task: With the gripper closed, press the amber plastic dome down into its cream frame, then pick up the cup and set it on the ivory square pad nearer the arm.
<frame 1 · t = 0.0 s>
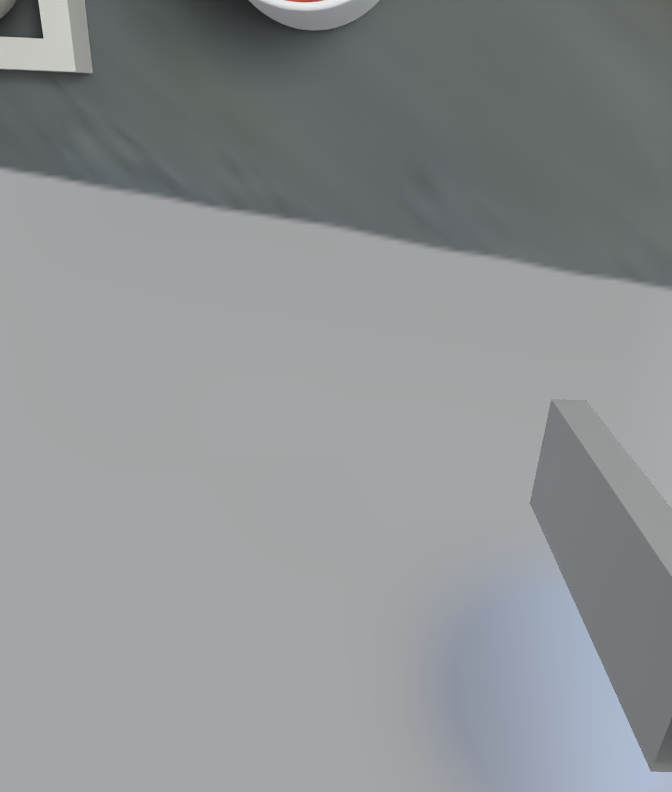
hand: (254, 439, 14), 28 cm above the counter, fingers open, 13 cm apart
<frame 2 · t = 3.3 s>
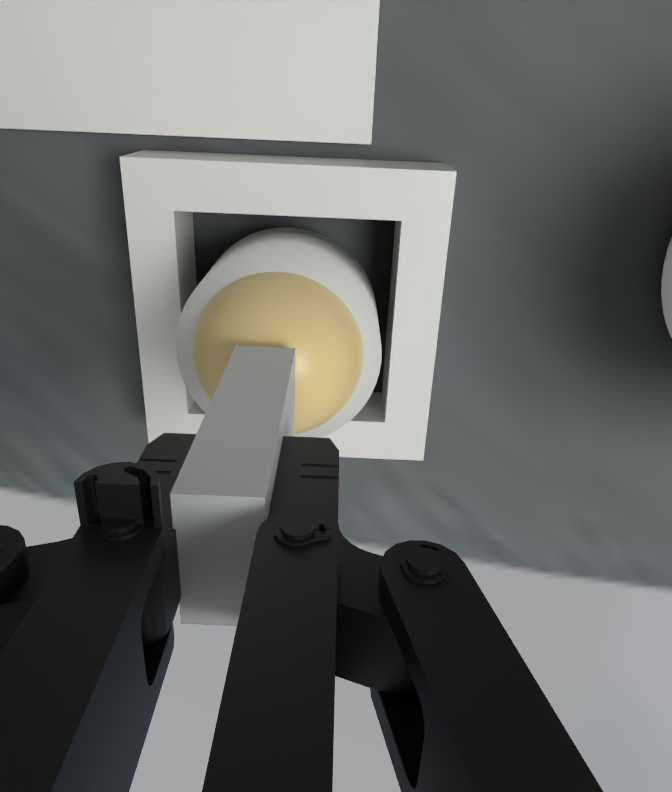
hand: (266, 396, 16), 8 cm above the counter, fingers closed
dome base: (293, 301, 23), on the counter
dome: (281, 346, 19), point 5 cm above the counter, slide at -0.9 cm, touching gripper
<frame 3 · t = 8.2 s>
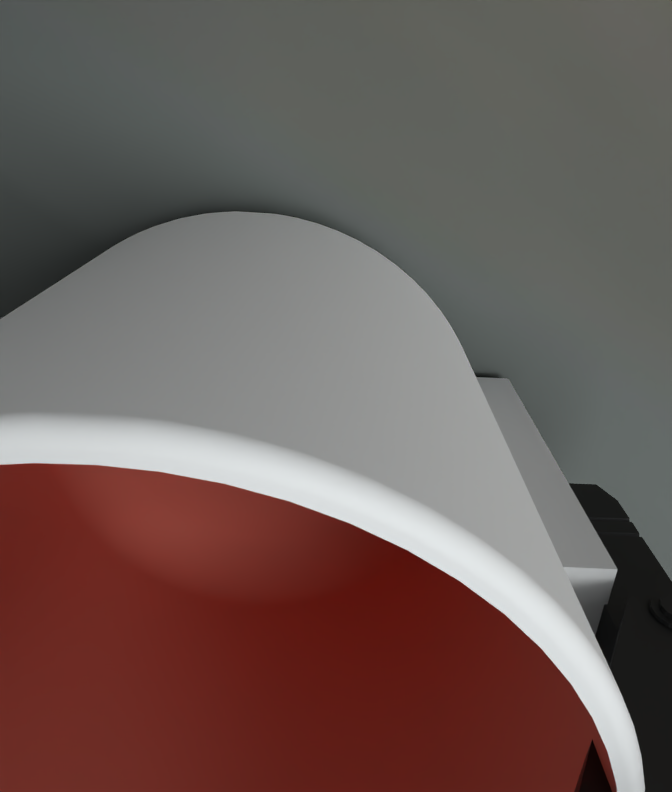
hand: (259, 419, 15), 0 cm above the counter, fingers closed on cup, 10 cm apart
cup: (262, 409, 16), on the counter, touching gripper
when the fingers open (2 cm above the counter, at t = 13.5 s): cup drops 1 cm, resting on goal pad.
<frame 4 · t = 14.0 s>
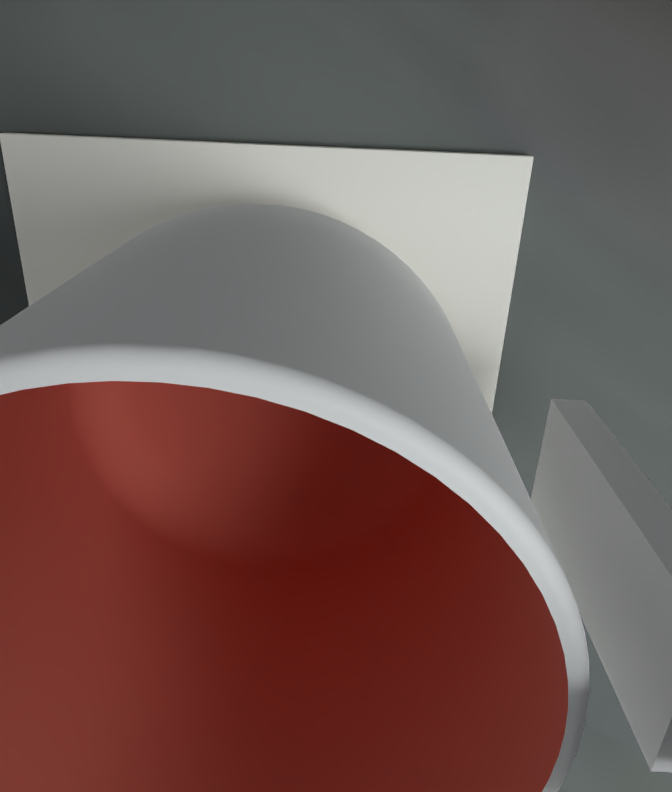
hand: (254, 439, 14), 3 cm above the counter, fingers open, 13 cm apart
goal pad: (269, 381, 17), on the counter
cup: (269, 386, 17), resting on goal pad
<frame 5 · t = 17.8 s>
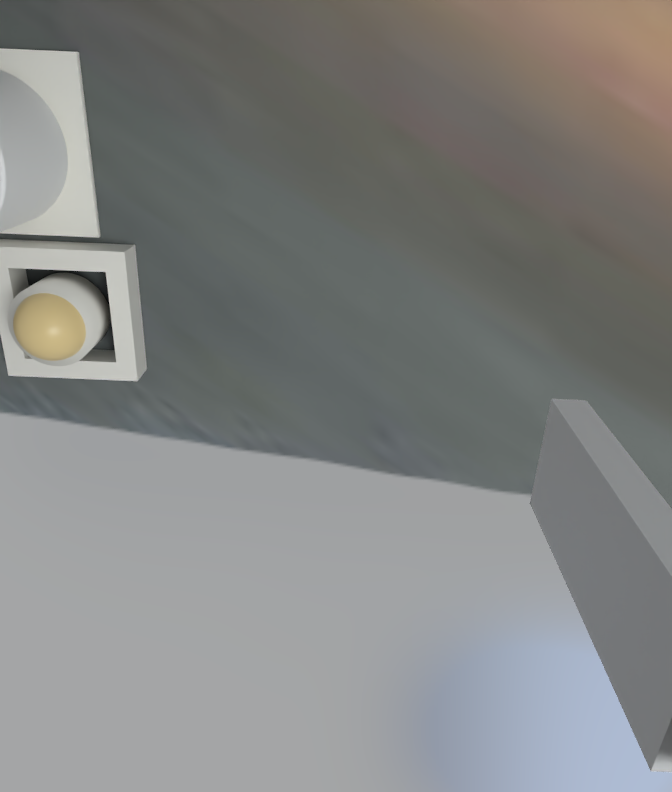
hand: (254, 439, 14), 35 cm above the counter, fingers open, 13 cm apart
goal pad: (4, 145, 44), on the counter
dome base: (76, 306, 49), on the counter
dome: (54, 323, 45), point 4 cm above the counter, slide at -1.3 cm
cup: (3, 146, 44), resting on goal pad
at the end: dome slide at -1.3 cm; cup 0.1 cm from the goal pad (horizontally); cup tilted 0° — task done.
